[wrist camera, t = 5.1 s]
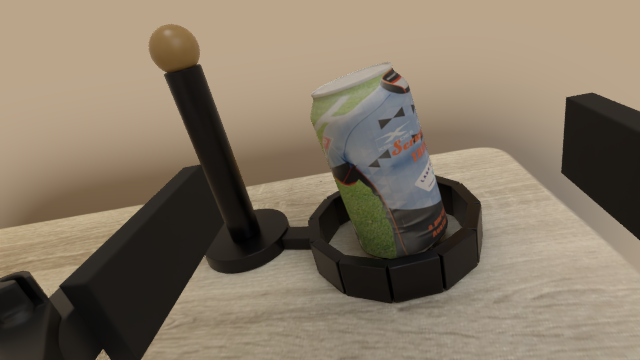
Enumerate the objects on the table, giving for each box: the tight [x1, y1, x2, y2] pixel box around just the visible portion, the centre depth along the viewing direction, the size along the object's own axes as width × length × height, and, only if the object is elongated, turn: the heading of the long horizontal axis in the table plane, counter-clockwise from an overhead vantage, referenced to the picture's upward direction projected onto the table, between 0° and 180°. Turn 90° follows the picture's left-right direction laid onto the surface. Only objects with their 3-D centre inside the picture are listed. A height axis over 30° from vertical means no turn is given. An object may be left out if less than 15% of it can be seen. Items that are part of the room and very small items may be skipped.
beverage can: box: [311, 62, 448, 259], centre depth 23 cm, size 6×7×12 cm
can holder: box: [149, 24, 483, 303], centre depth 23 cm, size 13×20×17 cm, turn 94°
